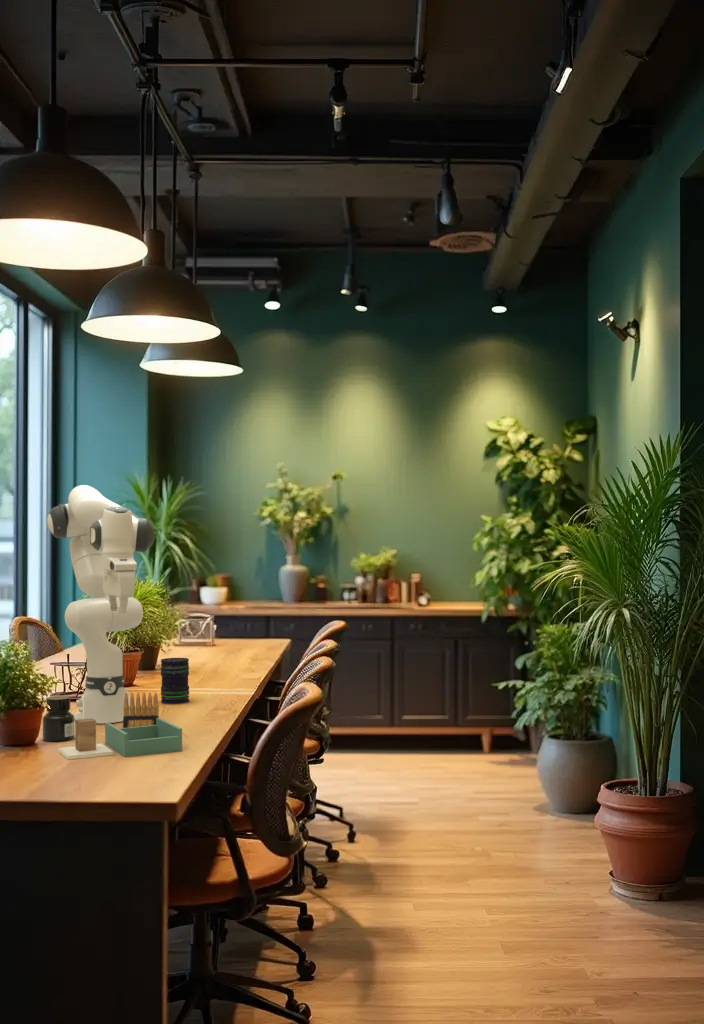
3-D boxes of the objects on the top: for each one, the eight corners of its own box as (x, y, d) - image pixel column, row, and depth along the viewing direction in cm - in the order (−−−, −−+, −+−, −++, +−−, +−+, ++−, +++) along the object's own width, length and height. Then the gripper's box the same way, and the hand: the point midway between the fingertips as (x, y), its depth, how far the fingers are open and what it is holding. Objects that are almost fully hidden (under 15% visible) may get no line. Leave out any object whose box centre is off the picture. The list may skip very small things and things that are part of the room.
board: (58, 751, 299) (58, 747, 299) (101, 747, 304) (101, 743, 304) (68, 759, 288) (68, 755, 288) (113, 754, 294) (113, 751, 294)
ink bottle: (74, 741, 313) (74, 699, 313) (42, 743, 311) (42, 701, 311) (73, 735, 323) (73, 694, 323) (42, 737, 320) (42, 696, 320)
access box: (105, 743, 309) (105, 722, 309) (159, 738, 316) (159, 717, 316) (124, 756, 291) (124, 734, 291) (182, 750, 299) (182, 728, 299)
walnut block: (75, 748, 297) (75, 719, 298) (91, 747, 300) (91, 717, 300) (79, 751, 293) (79, 721, 294) (96, 750, 296) (95, 720, 296)
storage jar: (191, 699, 388) (191, 657, 388) (186, 704, 378) (186, 661, 378) (163, 699, 388) (163, 657, 388) (158, 704, 378) (157, 661, 378)
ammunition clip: (159, 731, 327) (159, 691, 327) (158, 732, 325) (158, 692, 325) (123, 732, 327) (123, 692, 327) (122, 733, 325) (122, 693, 325)
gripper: (97, 562, 319) (97, 610, 319) (116, 564, 301) (116, 614, 301) (118, 562, 322) (119, 609, 322) (138, 564, 304) (139, 613, 304)
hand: (118, 612), depth 311 cm, fingers open, 8 cm apart
